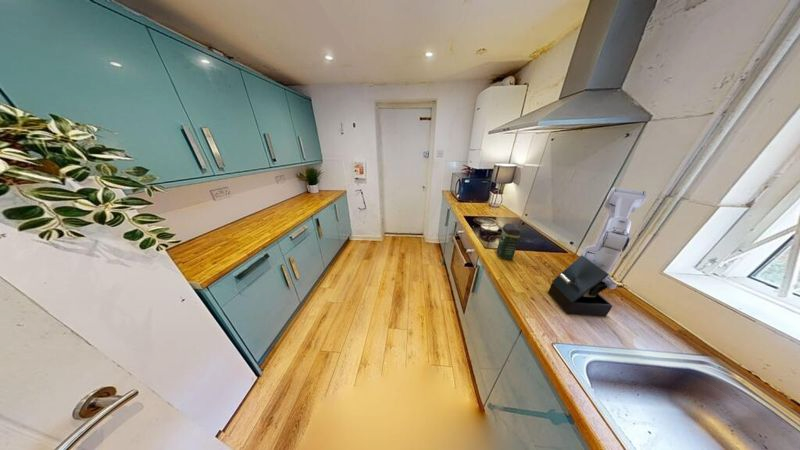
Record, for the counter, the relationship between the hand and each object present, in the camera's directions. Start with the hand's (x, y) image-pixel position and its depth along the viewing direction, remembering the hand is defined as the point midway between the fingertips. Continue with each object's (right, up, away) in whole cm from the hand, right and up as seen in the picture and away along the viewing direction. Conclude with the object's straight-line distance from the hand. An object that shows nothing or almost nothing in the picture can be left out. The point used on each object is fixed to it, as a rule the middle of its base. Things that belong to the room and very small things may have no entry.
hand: (586, 290), depth 79 cm
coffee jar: (-16, +9, +32) cm, 37 cm away
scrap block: (0, -1, +1) cm, 1 cm away
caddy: (-4, -6, +1) cm, 7 cm away
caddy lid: (-7, +6, -4) cm, 11 cm away
